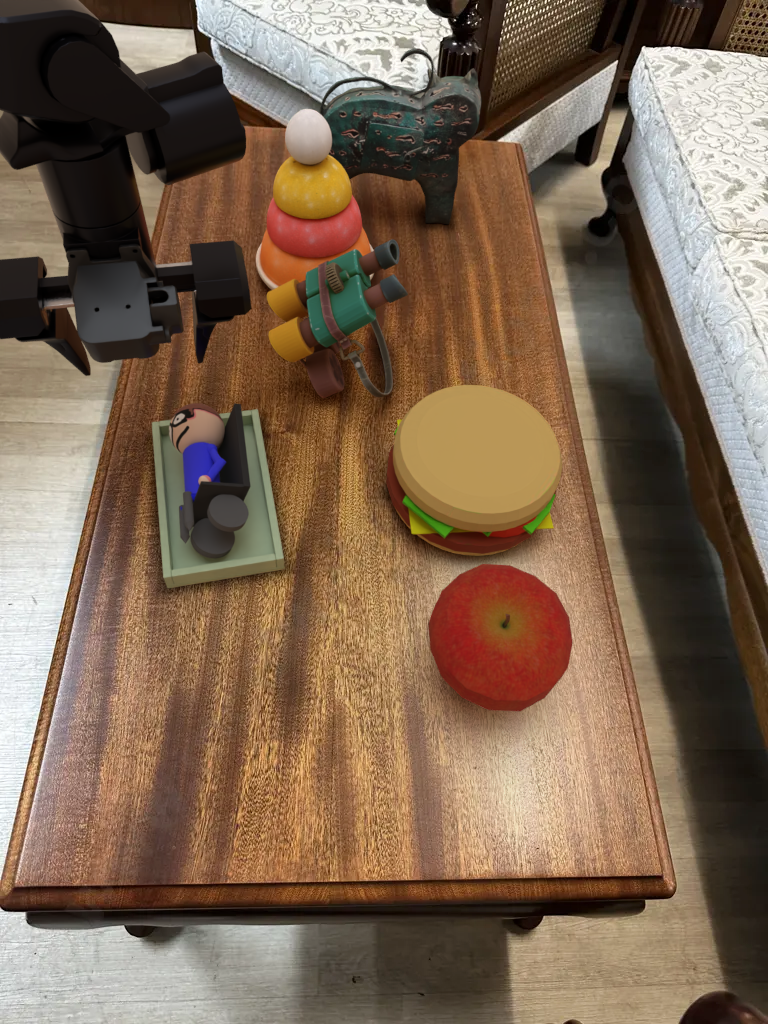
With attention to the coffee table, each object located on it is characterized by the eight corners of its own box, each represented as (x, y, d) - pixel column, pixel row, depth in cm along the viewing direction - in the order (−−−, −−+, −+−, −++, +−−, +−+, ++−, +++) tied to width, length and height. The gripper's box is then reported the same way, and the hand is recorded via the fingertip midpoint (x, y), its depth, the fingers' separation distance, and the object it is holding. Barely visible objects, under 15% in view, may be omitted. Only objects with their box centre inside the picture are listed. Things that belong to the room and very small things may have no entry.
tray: (167, 588, 64) (163, 577, 62) (155, 435, 72) (151, 421, 71) (284, 569, 65) (283, 558, 64) (259, 422, 74) (257, 408, 72)
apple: (522, 758, 58) (565, 713, 48) (398, 706, 59) (414, 652, 49) (556, 639, 64) (601, 577, 53) (442, 594, 65) (465, 526, 55)
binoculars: (330, 346, 85) (256, 257, 73) (438, 296, 81) (376, 192, 69) (340, 439, 78) (259, 357, 66) (459, 390, 73) (394, 292, 61)
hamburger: (377, 430, 75) (383, 377, 68) (529, 426, 77) (549, 374, 70) (392, 569, 66) (400, 524, 59) (563, 561, 68) (589, 516, 61)
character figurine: (183, 571, 64) (179, 439, 72) (264, 559, 65) (252, 429, 73) (159, 526, 58) (158, 386, 65) (250, 513, 58) (238, 376, 66)
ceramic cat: (460, 205, 96) (490, 43, 79) (462, 236, 93) (494, 74, 76) (312, 193, 95) (310, 27, 78) (308, 224, 92) (305, 57, 75)
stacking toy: (373, 237, 91) (385, 77, 75) (376, 316, 84) (390, 157, 67) (260, 232, 90) (247, 69, 74) (253, 311, 83) (236, 149, 66)
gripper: (-67, 297, 42) (25, 455, 56) (252, 269, 46) (267, 424, 59) (-51, 183, 48) (29, 351, 61) (231, 165, 51) (250, 328, 65)
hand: (144, 365), depth 61 cm, fingers open, 9 cm apart
